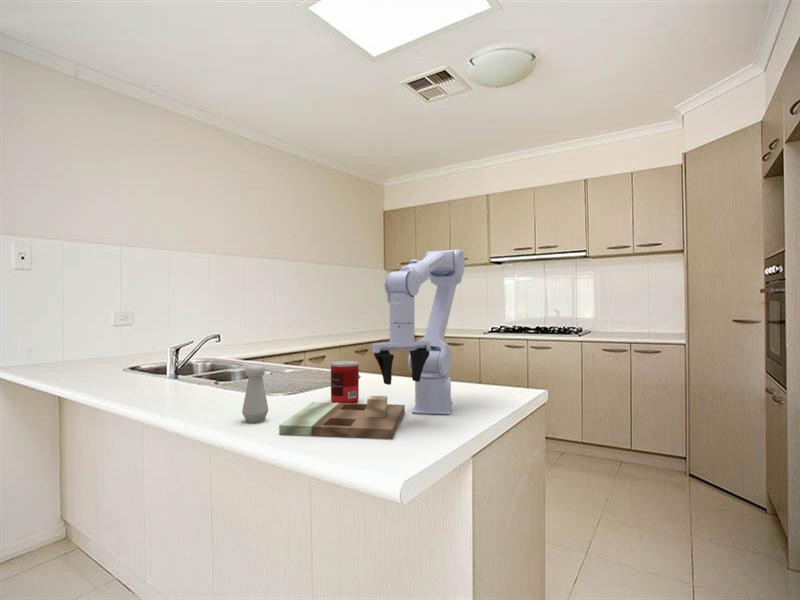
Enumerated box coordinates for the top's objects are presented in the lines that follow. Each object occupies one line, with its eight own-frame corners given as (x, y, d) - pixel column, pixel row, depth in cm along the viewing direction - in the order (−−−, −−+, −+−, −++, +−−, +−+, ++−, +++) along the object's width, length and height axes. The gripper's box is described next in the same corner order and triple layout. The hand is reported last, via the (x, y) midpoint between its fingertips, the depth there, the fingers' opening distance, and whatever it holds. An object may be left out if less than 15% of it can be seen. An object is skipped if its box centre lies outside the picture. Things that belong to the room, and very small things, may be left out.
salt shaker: (261, 416, 109) (261, 363, 109) (272, 420, 105) (272, 365, 105) (237, 420, 105) (238, 365, 105) (249, 425, 101) (249, 368, 101)
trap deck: (404, 412, 113) (404, 404, 113) (392, 439, 91) (392, 429, 91) (312, 409, 116) (312, 402, 116) (279, 434, 94) (279, 425, 94)
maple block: (387, 413, 104) (387, 396, 104) (384, 417, 100) (384, 399, 100) (370, 412, 105) (370, 395, 105) (367, 416, 101) (367, 399, 101)
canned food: (361, 399, 129) (361, 361, 129) (355, 405, 121) (355, 364, 121) (335, 398, 129) (335, 360, 130) (327, 404, 121) (327, 364, 122)
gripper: (419, 321, 110) (419, 377, 110) (365, 323, 103) (365, 382, 102) (435, 323, 104) (435, 381, 104) (380, 324, 96) (380, 387, 96)
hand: (402, 382), depth 103 cm, fingers open, 7 cm apart
